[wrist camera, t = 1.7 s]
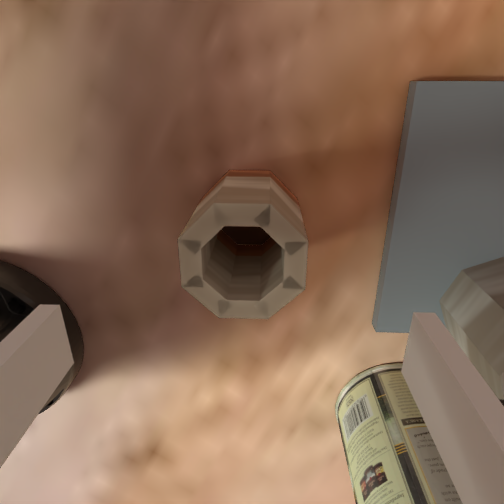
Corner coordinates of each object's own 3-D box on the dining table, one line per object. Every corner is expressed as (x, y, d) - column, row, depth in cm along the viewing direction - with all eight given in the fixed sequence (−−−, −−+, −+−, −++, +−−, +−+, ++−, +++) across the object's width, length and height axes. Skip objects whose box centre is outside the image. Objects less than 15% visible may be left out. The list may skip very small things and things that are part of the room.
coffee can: (435, 448, 36) (527, 649, 23) (328, 441, 36) (361, 637, 23) (464, 364, 32) (596, 553, 19) (343, 357, 32) (393, 539, 19)
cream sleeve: (205, 258, 29) (184, 317, 21) (200, 169, 26) (174, 202, 19) (294, 259, 28) (303, 320, 21) (298, 170, 26) (310, 204, 18)
